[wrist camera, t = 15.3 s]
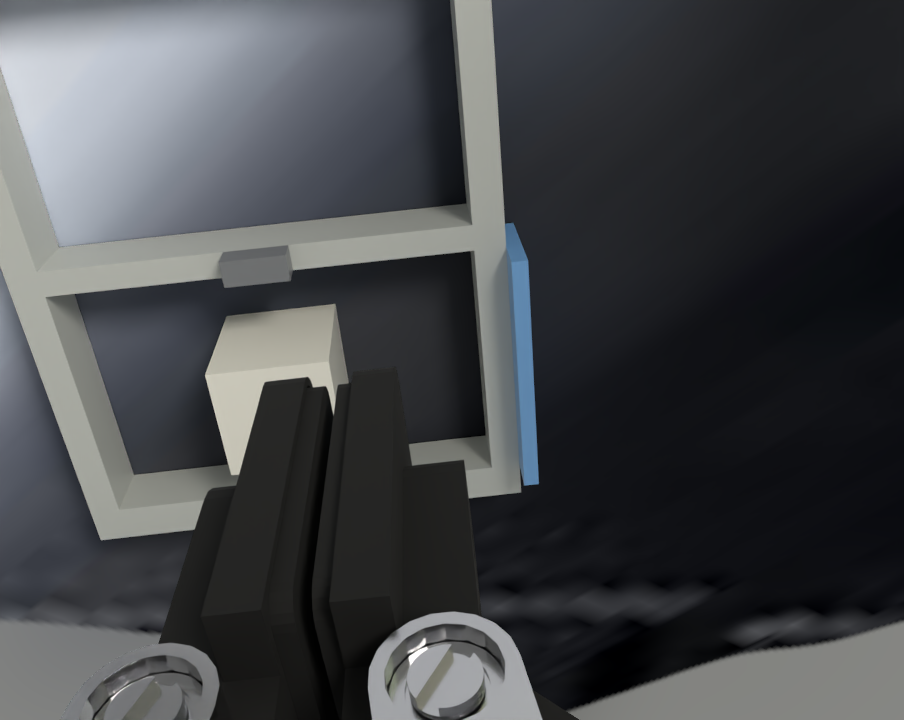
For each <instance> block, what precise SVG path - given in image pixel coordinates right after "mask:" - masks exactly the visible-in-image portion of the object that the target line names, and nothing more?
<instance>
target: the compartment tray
mask: <svg viewBox="0 0 904 720" xmlns="http://www.w3.org/2000/svg"><path fill="white" fill-rule="evenodd" d="M450 8H451V20H452V32H453V44H454V56H455V69H456V81H457V93H458V105H459V117H460V129H461V142H462V154H463V166H464V178H465V190H466V203H467V204H459V205H449V206H440V207H431V208H421V209H412V210H403V211H393V212H384V213H375V214H366V215H356V216H347V217H338V218H328V219H319V220H310V221H300V222H291V223H282V224H272V225H263V226H254V227H244V228H235V229H226V230H216V231H207V232H198V233H188V234H179V235H170V236H160V237H151V238H142V239H132V240H123V241H114V242H104V243H95V244H86V245H76V246H67V247H59V245H58V242H57V239H56V236H55V233H54V230H53V227H52V224H51V221H50V218H49V215H48V212H47V209H46V206H45V203H44V200H43V197H42V193H41V190H40V187H39V184H38V181H37V178H36V175H35V172H34V169H33V166H32V163H31V160H30V157H29V154H28V151H27V148H26V145H25V142H24V139H23V136H22V133H21V130H20V126H19V123H18V120H17V117H16V114H15V111H14V108H13V105H12V102H11V99H10V96H9V93H8V90H7V87H6V84H5V81H4V78H3V75H2V72H1V69H0V267H1V270H2V273H3V276H4V278H5V281H6V284H7V286H8V289H9V292H10V295H11V297H12V300H13V303H14V306H15V308H16V311H17V314H18V316H19V319H20V322H21V325H22V327H23V330H24V333H25V335H26V338H27V341H28V344H29V346H30V349H31V352H32V354H33V357H34V360H35V363H36V365H37V368H38V371H39V373H40V376H41V379H42V382H43V384H44V387H45V390H46V393H47V395H48V398H49V401H50V403H51V406H52V409H53V412H54V414H55V417H56V420H57V422H58V425H59V428H60V431H61V433H62V436H63V439H64V441H65V444H66V447H67V450H68V452H69V455H70V458H71V460H72V463H73V466H74V469H75V471H76V474H77V477H78V480H79V482H80V485H81V488H82V490H83V493H84V496H85V499H86V501H87V504H88V507H89V509H90V512H91V515H92V518H93V520H94V523H95V526H96V528H97V531H98V534H99V537H100V539H101V540H107V539H116V538H125V537H134V536H142V535H151V534H160V533H169V532H178V531H186V530H195V527H196V524H197V520H198V517H199V514H200V511H201V508H202V505H203V501H204V499H205V497H206V494H207V492H208V491H209V490H211V489H212V488H217V487H226V486H235V485H236V484H237V480H238V477H239V474H238V475H231V472H230V469H229V465H219V466H210V467H201V468H192V469H183V470H174V471H165V472H157V473H148V474H139V475H134V474H133V471H132V468H131V465H130V462H129V459H128V455H127V452H126V449H125V446H124V443H123V440H122V437H121V434H120V431H119V428H118V425H117V422H116V419H115V416H114V413H113V410H112V407H111V404H110V401H109V398H108V395H107V392H106V388H105V385H104V382H103V379H102V376H101V373H100V370H99V367H98V364H97V361H96V358H95V355H94V352H93V349H92V346H91V343H90V340H89V337H88V334H87V331H86V328H85V324H84V321H83V318H82V315H81V312H80V309H79V306H78V303H77V300H76V297H75V294H78V293H87V292H97V291H106V290H115V289H124V288H134V287H143V286H152V285H161V284H170V283H180V282H189V281H198V280H207V279H217V278H222V280H223V284H224V288H229V287H239V286H248V285H257V284H266V283H275V282H285V281H291V277H292V273H293V270H300V269H309V268H318V267H327V266H337V265H346V264H355V263H364V262H373V261H383V260H392V259H401V258H410V257H420V256H429V255H438V254H447V253H457V252H466V251H471V263H472V276H473V288H474V300H475V312H476V324H477V336H478V349H479V361H480V373H481V385H482V397H483V410H484V422H485V434H486V435H485V436H476V437H467V438H458V439H449V440H440V441H432V442H423V443H414V444H409V449H410V455H411V461H412V466H413V465H421V464H430V463H439V462H448V461H457V460H464V463H465V471H466V479H467V487H468V496H469V498H475V497H484V496H493V495H502V494H510V493H519V492H521V483H520V469H521V473H522V477H523V482H524V486H525V485H534V484H539V478H538V457H537V436H536V415H535V395H534V374H533V353H532V332H531V311H530V290H529V269H528V259H527V256H526V254H525V251H524V249H523V246H522V244H521V241H520V239H519V236H518V234H517V231H516V228H515V226H514V223H507V224H505V218H504V202H503V185H502V169H501V152H500V136H499V119H498V103H497V86H496V69H495V53H494V36H493V20H492V3H491V0H450ZM519 465H520V466H519Z"/></svg>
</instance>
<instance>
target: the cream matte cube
mask: <svg viewBox="0 0 904 720" xmlns="http://www.w3.org/2000/svg"><path fill="white" fill-rule="evenodd" d="M205 377H206V381H207V385H208V389H209V392H210V396H211V400H212V404H213V408H214V411H215V415H216V419H217V423H218V427H219V430H220V434H221V438H222V442H223V446H224V450H225V453H226V457H227V461H228V465H229V469H230V472H231V475H238V474H239V473H240V469H241V466H242V462H243V458H244V455H245V451H246V447H247V443H248V440H249V436H250V432H251V429H252V425H253V421H254V418H255V414H256V410H257V407H258V403H259V399H260V396H261V392H262V388H263V385H264V383H265V382H267V381H276V380H285V379H294V378H302V377H309V379H310V380H311V383H312V386H313V387H321V386H326V387H327V389H328V392H329V396H330V401H331V406H332V411H333V416H334V409H335V401H336V393H337V387H338V385H339V384H347V383H349V382H348V376H347V370H346V364H345V358H344V352H343V346H342V340H341V335H340V329H339V323H338V317H337V311H336V305H335V304H331V305H322V306H313V307H304V308H295V309H286V310H277V311H268V312H259V313H250V314H240V315H231V316H227V317H226V319H225V322H224V325H223V327H222V330H221V333H220V336H219V338H218V341H217V344H216V347H215V349H214V352H213V355H212V357H211V360H210V363H209V366H208V368H207V371H206V374H205Z"/></svg>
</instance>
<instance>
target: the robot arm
mask: <svg viewBox="0 0 904 720" xmlns="http://www.w3.org/2000/svg"><path fill="white" fill-rule="evenodd" d="M60 720H579V719H577V718H576V717H574V716H573V715H571V714H569V713H568V712H566V711H565V710H563V709H562V708H560V707H559V706H557V705H555V704H554V703H552V702H551V701H549V700H548V699H546V698H545V697H543V696H541V695H540V694H538V693H537V692H535V691H534V690H532V688H531V685H530V682H529V679H528V676H527V673H526V670H525V667H524V664H523V661H522V658H521V655H520V653H519V651H518V649H517V647H516V646H515V644H514V642H513V640H512V639H511V637H510V636H509V635H508V634H507V633H506V632H505V631H504V630H502V629H501V628H500V627H499V626H498V625H497V624H495V623H494V622H492V621H489V620H487V619H485V618H482V615H481V605H480V595H479V585H478V576H477V566H476V557H475V548H474V539H473V530H472V521H471V512H470V504H469V496H468V487H467V479H466V471H465V463H464V460H457V461H448V462H439V463H430V464H421V465H413V466H412V461H411V455H410V449H409V442H408V436H407V430H406V423H405V417H404V411H403V404H402V398H401V392H400V385H399V379H398V374H397V370H396V367H390V368H381V369H373V370H364V371H355V372H353V375H352V383H347V384H339V385H338V387H337V393H336V401H335V409H334V416H333V411H332V406H331V401H330V396H329V392H328V389H327V387H326V386H321V387H313V386H312V383H311V380H310V379H309V377H302V378H294V379H285V380H276V381H267V382H265V383H264V385H263V388H262V392H261V396H260V399H259V403H258V407H257V410H256V414H255V418H254V421H253V425H252V429H251V432H250V436H249V440H248V443H247V447H246V451H245V455H244V458H243V462H242V466H241V469H240V473H239V477H238V480H237V484H236V485H235V486H226V487H217V488H212V489H211V490H209V491H208V492H207V494H206V497H205V499H204V501H203V505H202V508H201V511H200V514H199V517H198V520H197V524H196V527H195V530H194V533H193V536H192V539H191V543H190V546H189V549H188V552H187V555H186V558H185V562H184V565H183V568H182V571H181V574H180V577H179V581H178V584H177V587H176V590H175V593H174V596H173V600H172V603H171V606H170V609H169V612H168V615H167V619H166V622H165V625H164V628H163V631H162V634H161V638H160V641H159V644H156V645H148V646H145V647H143V648H140V649H137V650H134V651H131V652H128V653H125V654H124V655H122V656H120V657H118V658H117V659H115V660H113V661H112V662H110V663H108V664H106V665H105V666H103V667H102V668H101V669H100V670H99V671H98V672H96V673H95V674H94V675H93V676H92V677H90V678H89V679H88V680H87V681H86V682H85V683H84V684H83V686H82V687H81V688H80V689H79V691H78V692H77V693H76V695H75V696H74V698H73V699H72V700H71V701H70V703H69V705H68V706H67V708H66V710H65V712H64V714H63V715H62V717H61V719H60Z"/></svg>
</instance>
